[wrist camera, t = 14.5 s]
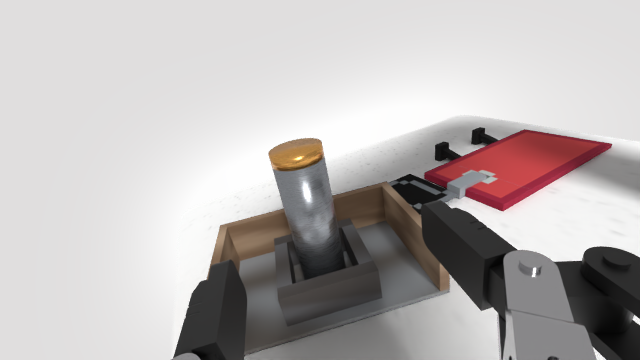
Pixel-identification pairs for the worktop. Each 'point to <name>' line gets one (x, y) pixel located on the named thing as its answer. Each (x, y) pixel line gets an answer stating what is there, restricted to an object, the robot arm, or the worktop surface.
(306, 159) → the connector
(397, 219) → the socket box
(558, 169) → the red board with handle
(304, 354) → the worktop surface
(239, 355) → the robot arm
